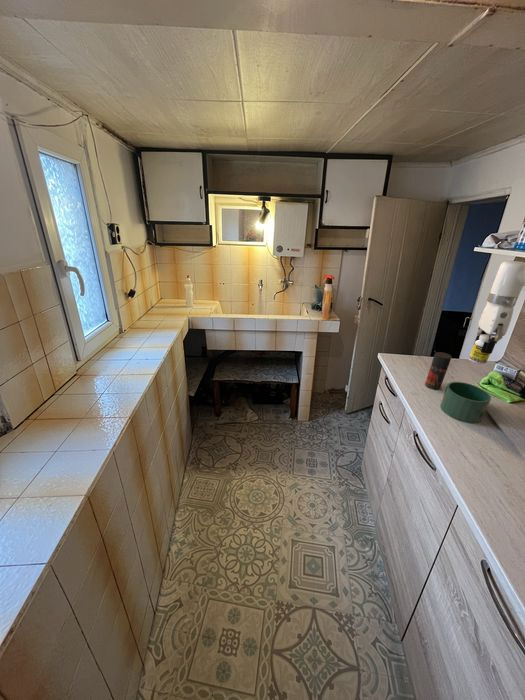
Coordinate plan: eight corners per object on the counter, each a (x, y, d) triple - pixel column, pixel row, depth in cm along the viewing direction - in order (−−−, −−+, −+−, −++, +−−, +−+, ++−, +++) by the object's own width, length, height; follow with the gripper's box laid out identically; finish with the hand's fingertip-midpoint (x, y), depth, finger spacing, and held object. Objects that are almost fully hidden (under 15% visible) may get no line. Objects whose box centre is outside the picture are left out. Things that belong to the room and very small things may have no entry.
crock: (472, 404, 110) (481, 385, 106) (488, 426, 98) (498, 405, 94) (435, 398, 113) (442, 379, 109) (446, 419, 101) (454, 398, 97)
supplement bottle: (468, 361, 102) (477, 336, 98) (468, 356, 107) (477, 332, 102) (486, 365, 100) (496, 340, 96) (486, 360, 104) (496, 336, 100)
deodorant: (424, 381, 125) (434, 350, 119) (439, 384, 123) (450, 354, 117) (425, 387, 120) (435, 356, 114) (440, 391, 118) (452, 359, 112)
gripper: (529, 308, 85) (505, 361, 93) (502, 295, 100) (483, 342, 108) (501, 305, 87) (480, 357, 94) (478, 293, 102) (461, 339, 109)
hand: (482, 348), depth 101 cm, fingers closed on supplement bottle, 5 cm apart
